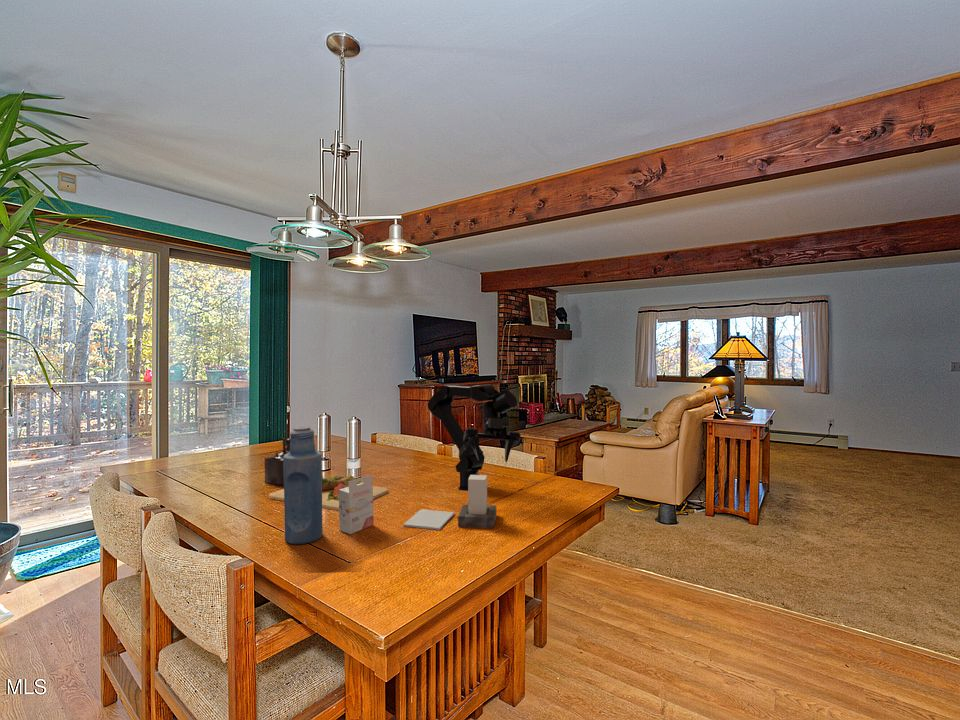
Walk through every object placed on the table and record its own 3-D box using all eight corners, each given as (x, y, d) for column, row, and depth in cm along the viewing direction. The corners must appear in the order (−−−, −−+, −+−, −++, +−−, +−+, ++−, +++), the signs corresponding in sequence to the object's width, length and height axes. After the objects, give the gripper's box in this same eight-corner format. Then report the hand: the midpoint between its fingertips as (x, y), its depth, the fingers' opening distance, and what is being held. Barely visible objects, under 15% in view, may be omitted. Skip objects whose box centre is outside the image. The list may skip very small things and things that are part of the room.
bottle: (327, 530, 131) (326, 424, 130) (316, 545, 121) (314, 430, 120) (292, 531, 130) (291, 424, 130) (278, 546, 120) (277, 430, 120)
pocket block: (458, 526, 133) (458, 516, 133) (463, 514, 143) (463, 504, 143) (493, 528, 132) (493, 517, 132) (496, 515, 142) (496, 505, 142)
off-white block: (468, 523, 135) (468, 479, 135) (470, 517, 140) (470, 474, 140) (485, 524, 135) (485, 479, 134) (487, 518, 140) (487, 475, 139)
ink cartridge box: (362, 521, 137) (362, 472, 137) (374, 525, 134) (373, 474, 134) (338, 530, 131) (337, 478, 130) (349, 534, 128) (348, 481, 127)
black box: (262, 482, 178) (261, 435, 178) (286, 475, 188) (286, 431, 188) (289, 488, 171) (288, 439, 170) (313, 480, 180) (312, 434, 180)
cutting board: (390, 493, 167) (390, 472, 167) (346, 514, 145) (346, 490, 145) (315, 482, 181) (315, 462, 181) (265, 500, 160) (265, 478, 159)
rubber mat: (403, 526, 133) (403, 524, 133) (421, 511, 146) (421, 509, 146) (439, 530, 131) (439, 527, 131) (454, 514, 143) (454, 512, 143)
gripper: (468, 404, 153) (469, 449, 144) (523, 409, 156) (527, 453, 147) (463, 419, 162) (463, 462, 153) (515, 424, 165) (517, 466, 156)
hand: (492, 460), depth 152 cm, fingers open, 9 cm apart
